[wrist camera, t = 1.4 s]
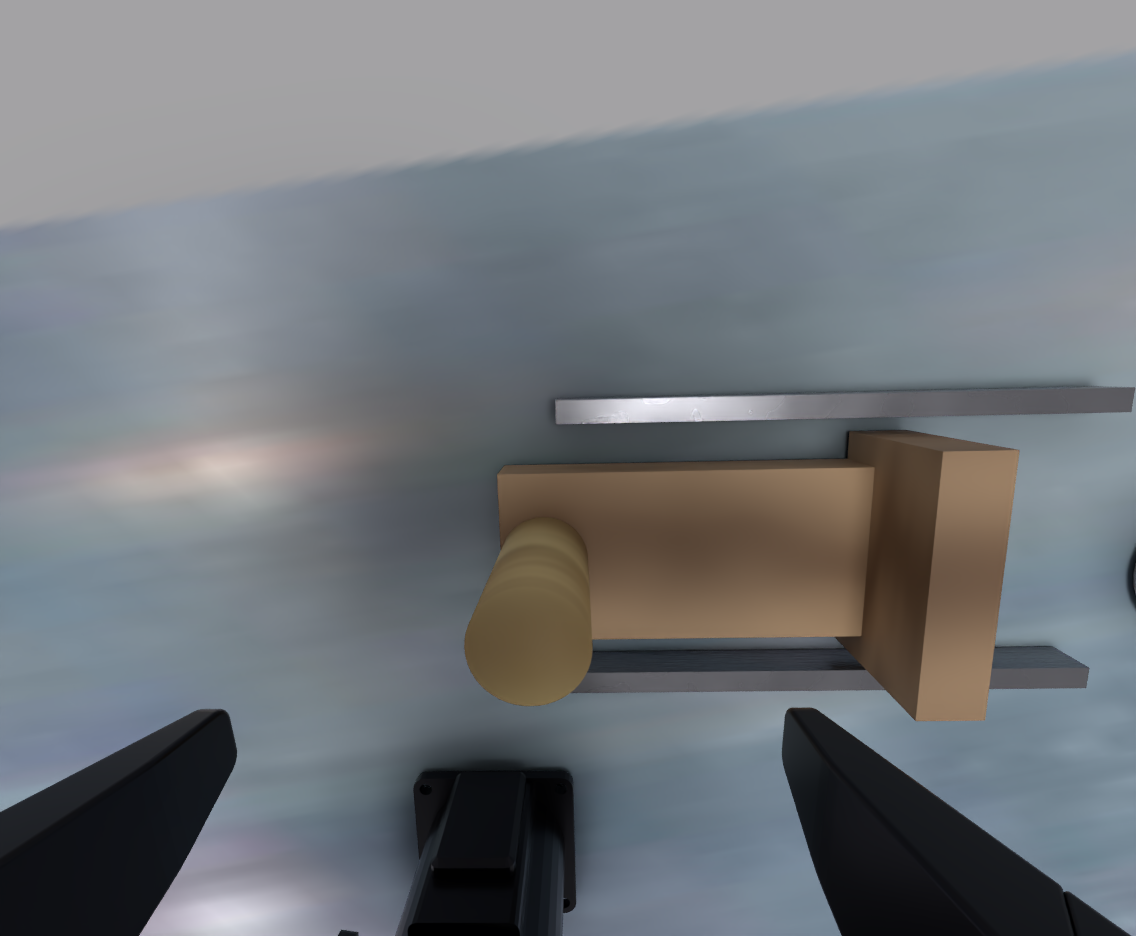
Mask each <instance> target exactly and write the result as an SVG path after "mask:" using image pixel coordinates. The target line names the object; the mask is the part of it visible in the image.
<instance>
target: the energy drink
mask: <svg viewBox="0 0 1136 936" xmlns="http://www.w3.org/2000/svg"><path fill="white" fill-rule="evenodd" d="M1133 585H1134V590H1135V594H1136V564H1135V569H1134V573H1133Z"/></svg>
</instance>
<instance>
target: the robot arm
mask: <svg viewBox="0 0 1136 936" xmlns="http://www.w3.org/2000/svg"><path fill="white" fill-rule="evenodd" d="M236 758H237V748H236V743H235V739H234V734H233V730H232V725H231V721H230V717H229V714H228V713H227V712H226V711H225V710H222V709H201V710H197V711H194V712H192V713H191V714H189V715H187V716H185V717H183V718H181V719H179V720H177V721H175V722H173V723H171V724H169V725H167V726H165V727H164V728H162V729H160V730H158V731H156V732H154V733H152V734H150V735H148V736H146V737H144V738H142V739H140V740H138V741H137V742H135V743H133V744H131V745H129V746H127V747H125V748H123V749H121V750H119V751H117V752H115V753H113V754H111V755H110V756H108V757H106V758H104V759H102V760H100V761H98V762H96V763H94V764H92V765H90V766H88V767H86V768H84V769H83V770H81V771H79V772H77V773H75V774H73V775H71V776H69V777H67V778H65V779H63V780H61V781H59V782H57V783H56V784H54V785H52V786H50V787H48V788H46V789H44V790H42V791H40V792H38V793H36V794H34V795H32V796H30V797H29V798H27V799H25V800H23V801H21V802H19V803H17V804H15V805H13V806H11V807H9V808H7V809H5V810H3V811H2V812H0V936H139V935H140V933H141V932H142V930H143V929H144V927H145V925H146V924H147V922H148V921H149V919H150V917H151V916H152V914H153V913H154V911H155V910H156V908H157V906H158V905H159V903H160V902H161V900H162V898H163V897H164V895H165V894H166V892H167V890H168V889H169V887H170V886H171V884H172V882H173V881H174V879H175V877H176V876H177V874H178V872H179V871H180V869H181V867H182V865H183V863H184V862H185V860H186V858H187V856H188V854H189V853H190V851H191V849H192V847H193V845H194V843H195V841H196V839H197V837H198V835H199V833H200V832H201V830H202V828H203V826H204V824H205V822H206V820H207V818H208V816H209V814H210V812H211V810H212V808H213V807H214V805H215V803H216V801H217V799H218V797H219V795H220V793H221V791H222V789H223V787H224V785H225V784H226V782H227V780H228V778H229V776H230V774H231V772H232V770H233V768H234V765H235V762H236ZM782 760H783V766H784V770H785V773H786V776H787V780H788V783H789V786H790V789H791V793H792V796H793V799H794V802H795V806H796V809H797V812H798V816H799V819H800V822H801V825H802V829H803V832H804V835H805V838H806V842H807V845H808V848H809V851H810V855H811V858H812V861H813V864H814V867H815V870H816V873H817V876H818V879H819V881H820V884H821V886H822V889H823V891H824V894H825V896H826V899H827V901H828V904H829V906H830V909H831V911H832V913H833V916H834V918H835V921H836V923H837V926H838V928H839V930H840V933H841V935H842V936H1131V935H1129V934H1128V933H1127V932H1125V931H1124V930H1122V929H1121V928H1119V927H1118V926H1117V925H1115V924H1114V923H1112V922H1111V921H1109V920H1108V919H1107V918H1105V917H1104V916H1103V915H1101V914H1100V913H1098V912H1097V911H1096V910H1094V909H1093V908H1091V907H1090V906H1089V905H1087V904H1086V903H1084V902H1083V901H1082V900H1080V899H1079V898H1078V897H1076V896H1075V895H1073V894H1072V893H1071V892H1068V891H1066V892H1063V889H1062V887H1061V886H1060V885H1059V884H1058V883H1056V882H1055V881H1054V880H1052V879H1051V878H1049V877H1048V876H1047V875H1045V874H1044V873H1043V872H1041V871H1040V870H1038V869H1037V868H1036V867H1034V866H1033V865H1031V864H1030V863H1029V862H1027V861H1026V860H1025V859H1023V858H1022V857H1020V856H1019V855H1018V854H1016V853H1015V852H1013V851H1012V850H1011V849H1009V848H1008V847H1007V846H1005V845H1004V844H1002V843H1001V842H1000V841H998V840H997V839H995V838H994V837H993V836H991V835H990V834H989V833H987V832H986V831H984V830H983V829H982V828H980V827H979V826H977V825H976V824H975V823H973V822H972V821H971V820H969V819H968V818H966V817H965V816H964V815H962V814H961V813H959V812H958V811H957V810H955V809H954V808H952V807H951V806H950V805H948V804H947V803H946V802H944V801H943V800H941V799H940V798H939V797H937V796H936V795H934V794H933V793H932V792H930V791H929V790H928V789H926V788H925V787H923V786H922V785H921V784H919V783H918V782H916V781H915V780H914V779H912V778H911V777H910V776H908V775H907V774H905V773H904V772H903V771H901V770H900V769H898V768H897V767H896V766H894V765H893V764H892V763H890V762H889V761H887V760H886V759H885V758H883V757H882V756H880V755H879V754H878V753H876V752H875V751H874V750H872V749H871V748H869V747H868V746H867V745H865V744H864V743H862V742H861V741H860V740H858V739H857V738H855V737H854V736H853V735H851V734H850V733H849V732H847V731H846V730H844V729H843V728H842V727H840V726H839V725H837V724H836V723H835V722H833V721H832V720H831V719H829V718H828V717H826V716H825V715H824V714H822V713H821V712H819V711H818V710H816V709H814V708H790V709H788V710H787V712H786V714H785V721H784V732H783V744H782ZM560 783H562V784H564V785H565V786H563V787H559V786H557V784H560ZM423 784H427V785H429V786H431V787H430V788H428V787H425V786H424V785H423ZM414 802H415V813H416V825H417V837H418V849H419V860H420V861H419V864H418V867H417V870H416V873H415V876H414V879H413V882H412V886H411V889H410V892H409V895H408V898H407V901H406V904H405V907H404V910H403V913H402V916H401V919H400V922H399V925H398V929H397V932H396V935H395V936H562V930H563V913H567V912H570V911H572V910H573V909H574V908H575V905H576V875H575V834H574V793H573V778H572V776H571V775H570V774H569V773H567V772H565V771H429V772H423V773H421V774H420V775H419V776H418V777H417V779H416V782H415V784H414ZM563 898H567V899H563ZM338 936H358V932H353V931H347V930H341V931H340V933H339V934H338Z"/></svg>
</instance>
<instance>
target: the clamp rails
mask: <svg viewBox="0 0 1136 936" xmlns="http://www.w3.org/2000/svg"><path fill="white" fill-rule="evenodd" d="M1134 392H1135V387H1099V386H1083V387H1038V388H994V389H949V390H905V391H861V392H816V393H772V394H727V395H683V396H639V397H594V398H557V399H556V400H555V406H556V424H593V423H639V422H686V421H733V420H780V419H827V418H873V417H920V416H967V415H1014V414H1061V413H1107V412H1131V410H1132V404H1133V398H1134ZM1088 673H1089V667H1087V666H1085V665H1084V664H1082V663H1080V662H1078V661H1077V660H1075V659H1073V658H1072V657H1070V656H1068V655H1066V654H1065V653H1063V652H1061V651H1059V650H1058V649H1056V648H1054V647H994V654H993V661H992V669H991V677H990V685H989V689H1037V688H1086V686H1087V680H1088ZM827 690H885V689H884V688H883V687H882V686H881V685H880V684H879V683H878V682H877V680H876V679H875V678H874V677H873V676H872V675H871V674H870V673H869V672H868V671H867V670H866V669H865V668H864V667H863V666H862V665H861V664H860V663H859V662H858V661H857V660H856V659H855V658H854V657H853V656H852V655H851V654H850V653H849V651H848V650H847V649H806V650H717V651H629V652H592V658H591V663H590V666H589V669H588V671H587V673H586V675H585V677H584V678H583V680H582V681H581V683H580V684H579V685H578V686H577V687H576V688H575V689H574V690H573V691H572V692H570V693H617V692H722V691H827Z"/></svg>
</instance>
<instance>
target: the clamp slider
mask: <svg viewBox="0 0 1136 936" xmlns="http://www.w3.org/2000/svg"><path fill="white" fill-rule="evenodd" d="M1018 458H1019V450H1016V449H1010V448H1005V447H999V446H993V445H988V444H982V443H976V442H971V441H965V440H959V439H954V438H948V437H942V436H937V435H931V434H925V433H920V432H914V431H908V430H884V431H850V432H849V446H848V459H805V460H754V461H703V462H652V463H601V464H550V465H504V467H503V468H502V469H501V470H500V472H499V473H498V474H497V483H498V504H499V525H500V546H501V551H500V554H499V556H498V558H497V560H496V563H495V565H494V567H493V570H492V572H491V574H490V577H489V579H488V581H487V583H486V586H485V588H484V590H483V593H482V595H481V597H480V599H479V602H478V604H477V606H476V609H475V611H474V613H473V615H472V618H471V620H470V622H469V625H468V627H467V631H466V635H465V645H464V649H465V657H466V660H467V664H468V666H469V668H470V671H471V673H472V674H473V676H474V678H475V679H476V680H477V681H478V683H479V684H480V685H481V686H482V687H483V688H484V689H485V690H486V691H488V692H489V693H490V694H492V695H493V696H495V697H497V698H498V699H500V700H503V701H505V702H508V703H511V704H515V705H521V706H540V705H545V704H549V703H552V702H555V701H557V700H559V699H561V698H563V697H565V696H566V695H568V694H569V693H570V692H572V691H573V690H574V689H575V688H576V687H577V686H578V685H579V684H580V683H581V681H582V680H583V678H584V677H585V675H586V673H587V671H588V669H589V666H590V663H591V658H592V649H593V646H592V639H670V638H755V637H835V638H836V639H837V640H838V641H839V642H840V643H841V644H842V645H843V646H844V647H845V648H846V649H847V650H848V651H849V653H850V654H851V655H852V656H853V657H854V658H855V659H856V660H857V661H858V662H859V663H860V664H861V665H862V666H863V667H864V668H865V669H866V670H867V671H868V672H869V673H870V674H871V675H872V676H873V677H874V678H875V679H876V680H877V682H878V683H879V684H880V685H881V686H882V687H883V688H884V689H885V690H886V691H887V692H888V693H889V694H890V695H891V696H892V697H893V698H894V699H895V700H896V701H897V702H898V703H899V704H900V705H901V706H902V707H903V708H904V709H905V710H906V712H907V713H908V714H909V715H910V716H911V717H912V718H913V719H914V720H915V721H976V720H985V716H986V708H987V700H988V693H989V685H990V677H991V669H992V661H993V654H994V646H995V638H996V630H997V622H998V614H999V607H1000V599H1001V591H1002V583H1003V575H1004V568H1005V560H1006V552H1007V544H1008V536H1009V528H1010V521H1011V513H1012V505H1013V497H1014V489H1015V482H1016V474H1017V466H1018Z"/></svg>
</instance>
